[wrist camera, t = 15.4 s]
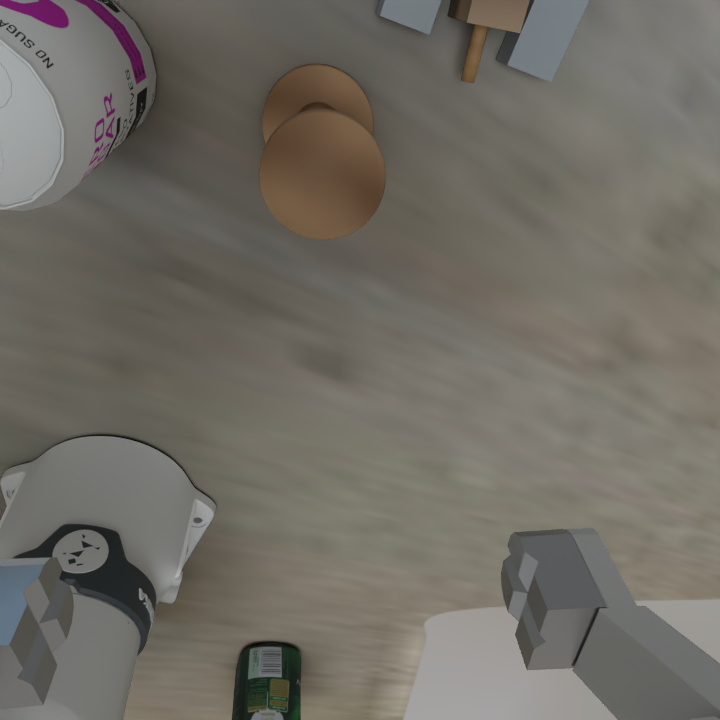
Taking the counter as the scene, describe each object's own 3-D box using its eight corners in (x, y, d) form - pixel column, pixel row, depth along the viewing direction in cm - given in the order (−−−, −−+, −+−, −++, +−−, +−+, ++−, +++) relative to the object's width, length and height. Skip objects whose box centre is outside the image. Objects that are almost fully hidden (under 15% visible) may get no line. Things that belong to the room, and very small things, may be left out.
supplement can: (-3, -24, 32) (-196, -18, 20) (153, -6, 33) (62, 11, 21) (28, 130, 36) (-114, 215, 24) (164, 142, 37) (95, 229, 25)
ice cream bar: (480, 79, 37) (503, 93, 33) (435, 70, 36) (452, 84, 32) (521, -76, 33) (552, -82, 28) (470, -88, 32) (495, -96, 28)
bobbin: (352, 190, 40) (368, 264, 30) (252, 160, 38) (234, 227, 29) (386, 85, 37) (417, 129, 27) (278, 46, 35) (267, 78, 25)
